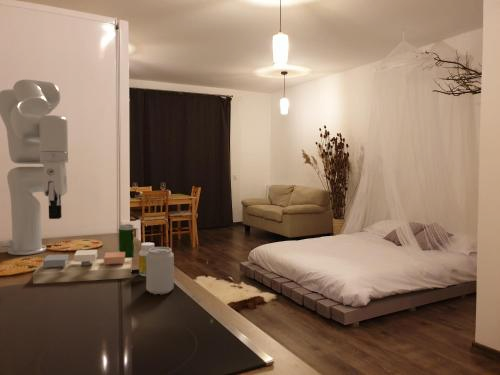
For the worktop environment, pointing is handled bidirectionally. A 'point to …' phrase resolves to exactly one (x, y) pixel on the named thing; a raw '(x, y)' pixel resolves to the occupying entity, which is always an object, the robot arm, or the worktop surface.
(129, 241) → the beer can
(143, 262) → the supplement bottle
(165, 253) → the can
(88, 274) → the button board
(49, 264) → the slate tile
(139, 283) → the worktop surface
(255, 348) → the worktop surface
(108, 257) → the terracotta tile
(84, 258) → the cream tile
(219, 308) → the worktop surface
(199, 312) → the worktop surface
